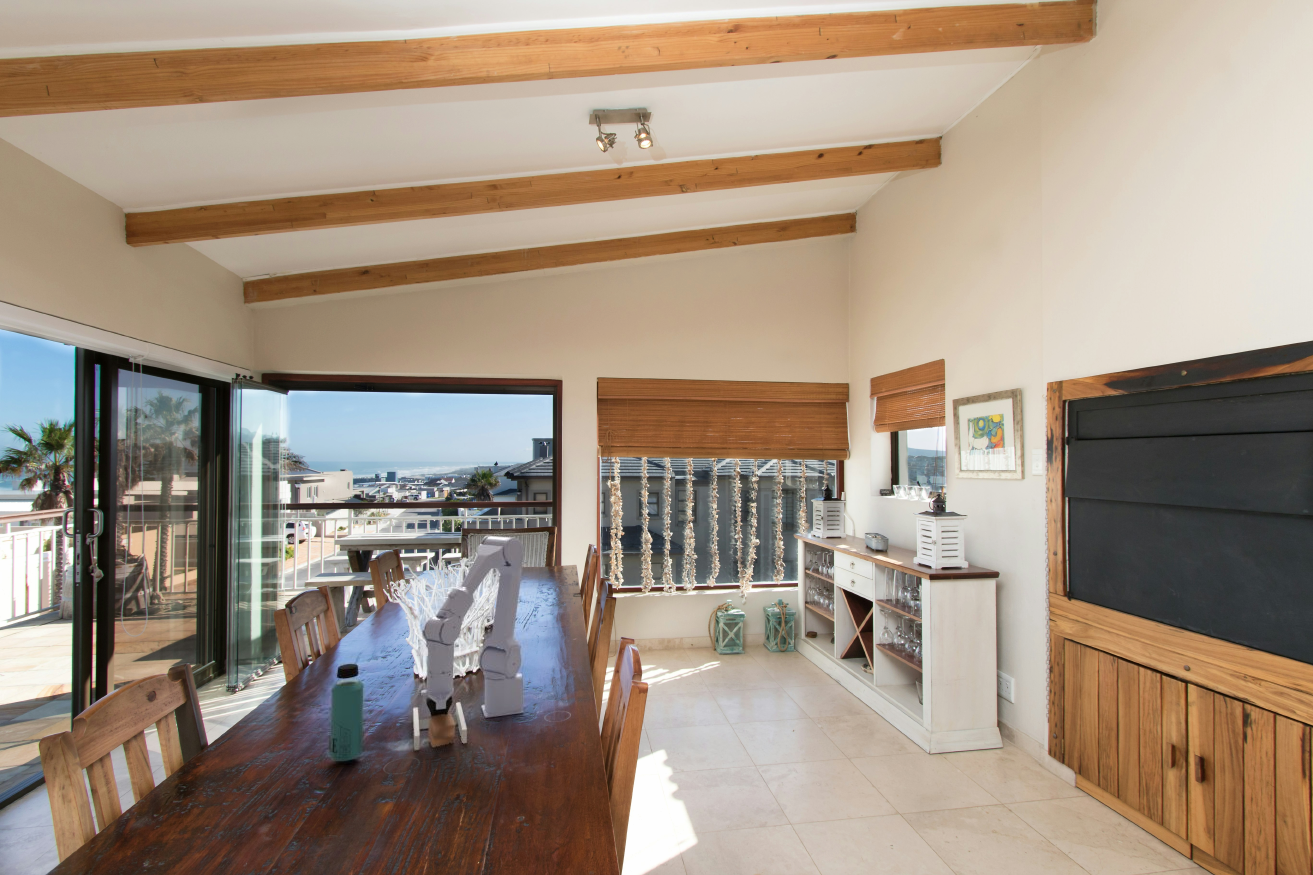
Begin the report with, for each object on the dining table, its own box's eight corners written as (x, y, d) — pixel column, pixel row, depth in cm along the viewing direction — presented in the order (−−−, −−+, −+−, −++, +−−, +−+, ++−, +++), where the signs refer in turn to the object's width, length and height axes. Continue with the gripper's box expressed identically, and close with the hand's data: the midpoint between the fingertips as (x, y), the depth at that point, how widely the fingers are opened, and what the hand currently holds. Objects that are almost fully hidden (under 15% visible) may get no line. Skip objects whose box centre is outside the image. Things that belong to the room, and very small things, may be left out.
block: (448, 732, 150) (450, 712, 149) (453, 744, 146) (455, 724, 146) (427, 736, 148) (430, 716, 147) (432, 748, 144) (435, 728, 143)
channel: (459, 714, 163) (460, 702, 163) (466, 742, 146) (466, 729, 146) (413, 720, 159) (413, 707, 159) (414, 750, 142) (414, 736, 142)
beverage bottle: (370, 757, 138) (372, 662, 139) (345, 771, 132) (348, 671, 133) (345, 753, 141) (348, 659, 141) (320, 766, 134) (323, 667, 135)
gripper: (421, 662, 155) (419, 721, 154) (422, 681, 141) (420, 745, 140) (452, 660, 157) (450, 717, 157) (456, 678, 144) (454, 741, 143)
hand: (438, 730), depth 149 cm, fingers closed, pressing on block
